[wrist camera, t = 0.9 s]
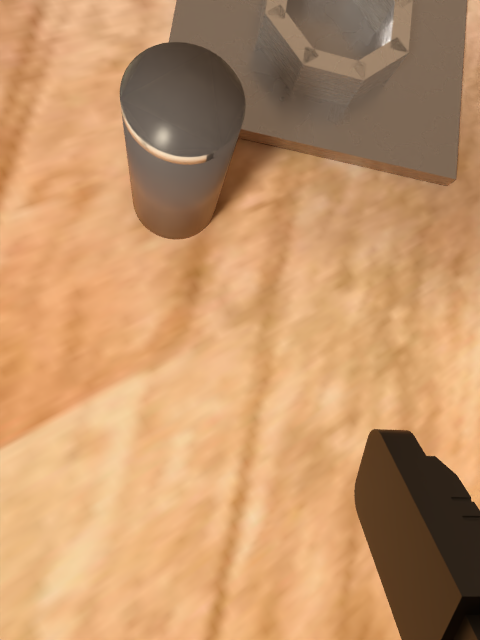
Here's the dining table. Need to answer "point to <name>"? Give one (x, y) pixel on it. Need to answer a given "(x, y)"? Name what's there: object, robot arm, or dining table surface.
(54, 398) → the dining table surface
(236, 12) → the octagonal socket base
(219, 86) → the metal cylinder
